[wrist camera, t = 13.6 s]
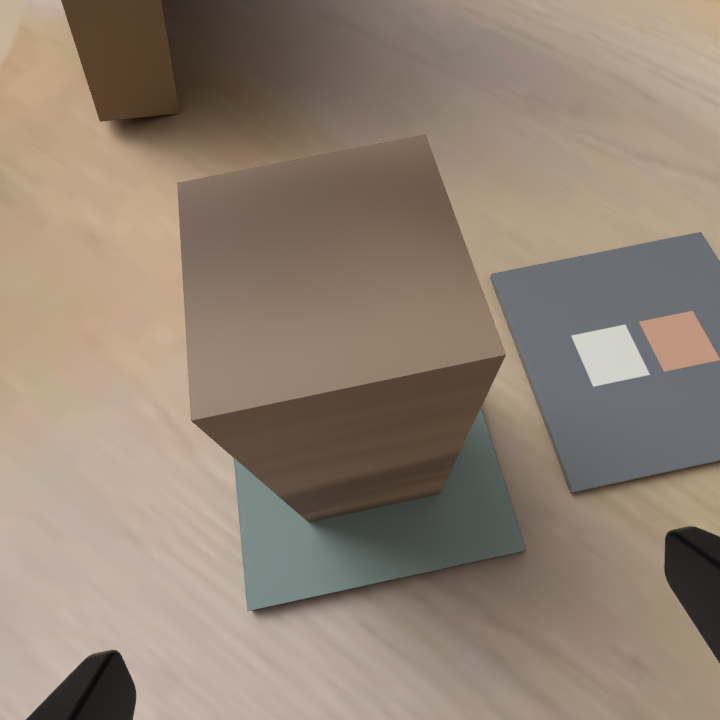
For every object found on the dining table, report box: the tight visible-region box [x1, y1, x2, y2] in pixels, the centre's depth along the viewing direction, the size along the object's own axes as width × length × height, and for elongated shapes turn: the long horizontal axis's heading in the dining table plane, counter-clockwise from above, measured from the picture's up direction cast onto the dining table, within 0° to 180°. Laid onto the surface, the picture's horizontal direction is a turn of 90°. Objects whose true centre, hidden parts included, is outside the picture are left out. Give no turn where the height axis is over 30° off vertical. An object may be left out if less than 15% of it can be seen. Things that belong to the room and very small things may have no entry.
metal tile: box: [490, 232, 720, 493], centre depth 21 cm, size 10×10×1 cm
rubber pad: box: [234, 408, 526, 611], centre depth 20 cm, size 10×10×1 cm
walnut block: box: [177, 135, 506, 523], centre depth 14 cm, size 5×5×12 cm
